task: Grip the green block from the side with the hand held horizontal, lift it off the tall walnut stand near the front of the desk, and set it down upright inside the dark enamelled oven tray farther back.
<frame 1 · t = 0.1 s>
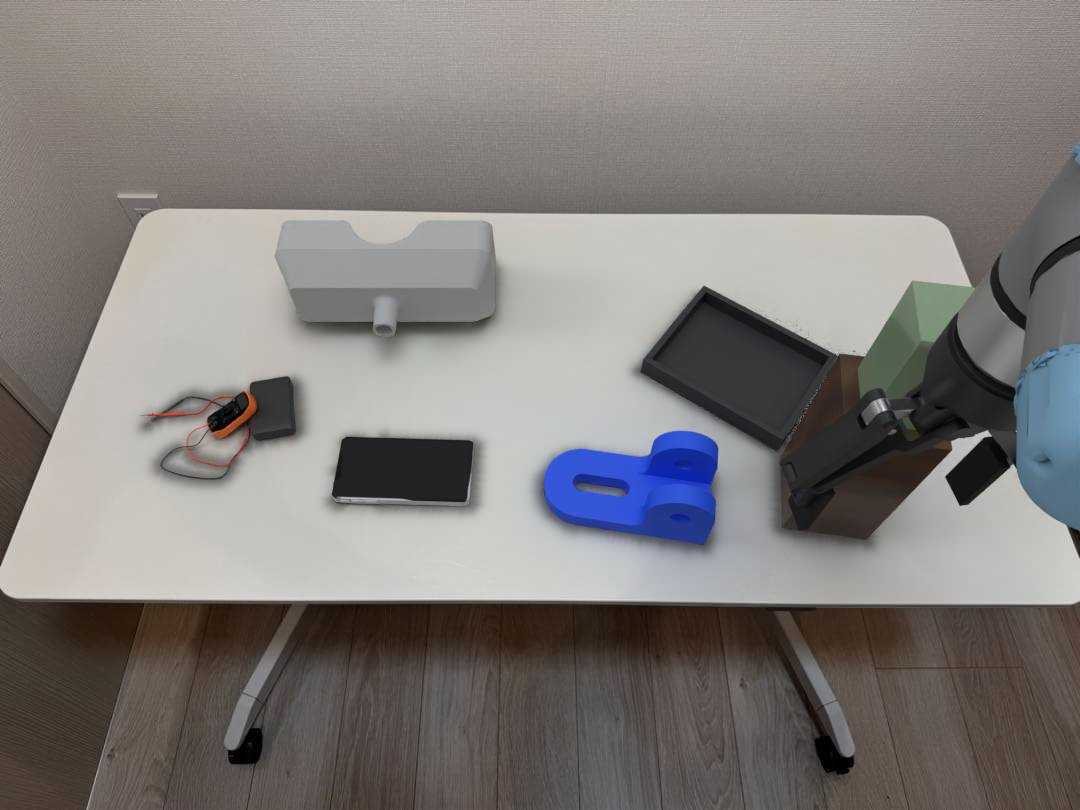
hand: (877, 502, 62), 21 cm above the table, tool pointing down, fingers open, 13 cm apart
green block: (893, 399, 68), point 20 cm above the table, touching stand
stand: (822, 496, 85), on the table
multimeter: (218, 434, 89), on the table
oven tray: (736, 369, 94), on the table
smartphone: (405, 474, 86), on the table
tank: (398, 311, 99), on the table
bracket: (624, 497, 85), on the table
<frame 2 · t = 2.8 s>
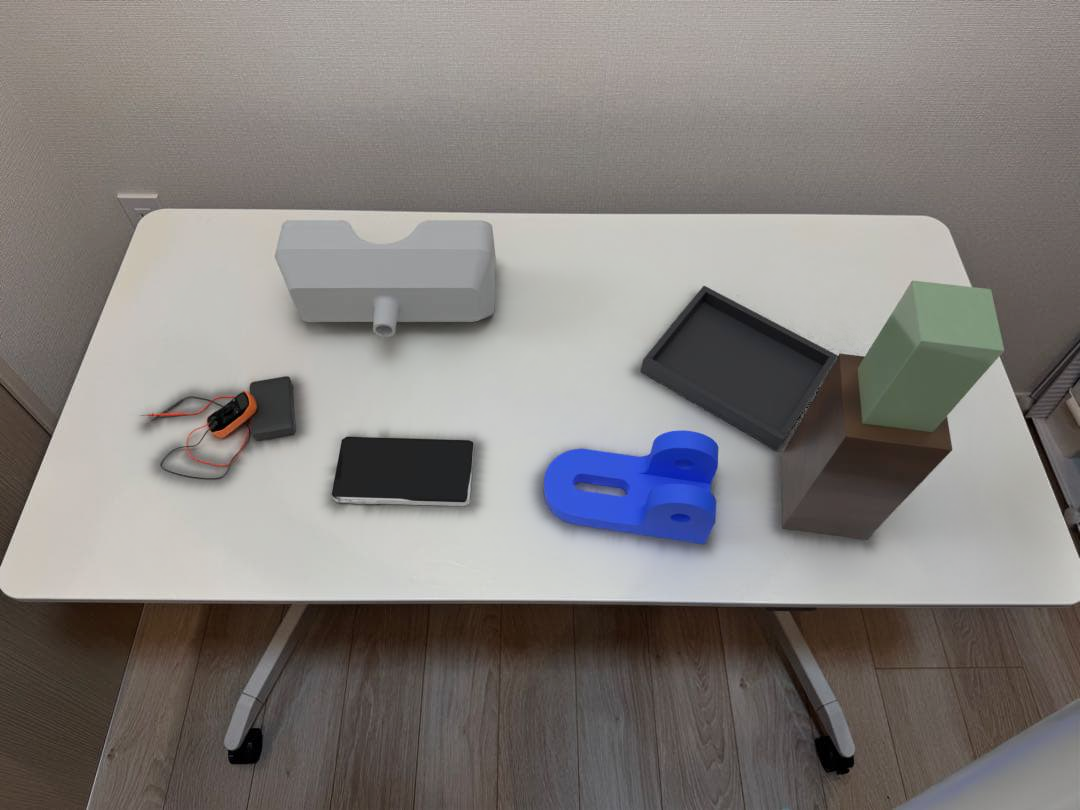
nothing on the table moved.
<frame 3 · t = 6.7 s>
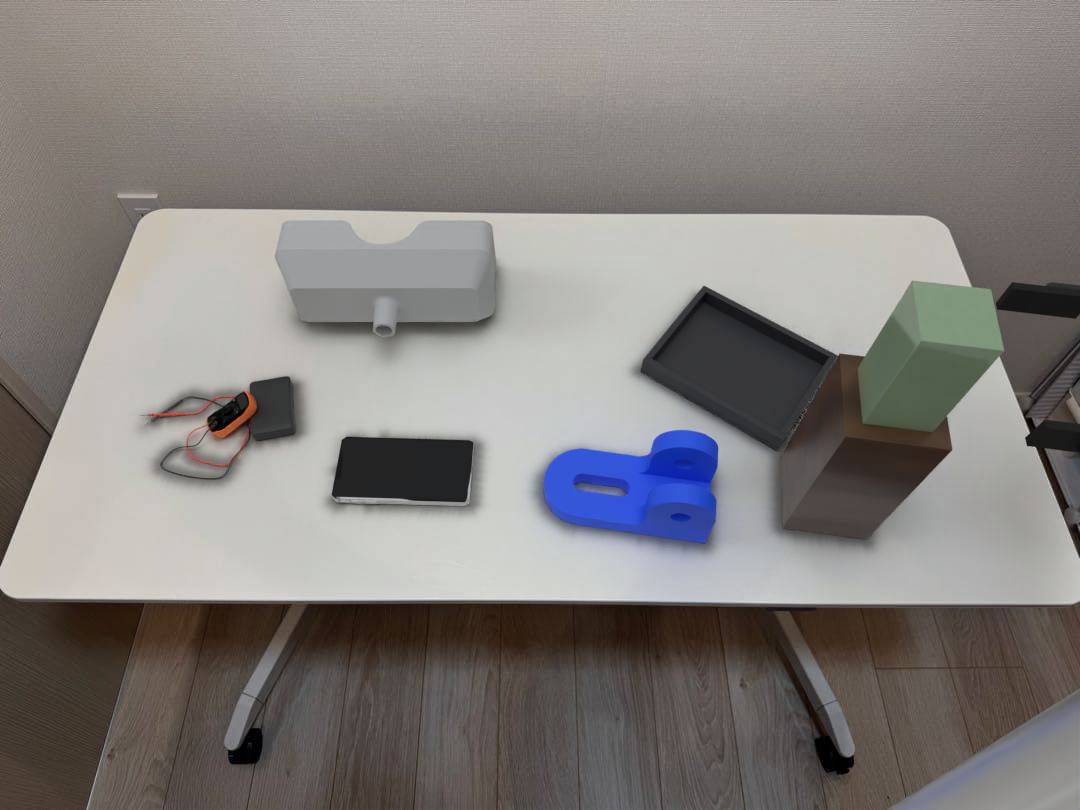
hand: (1018, 360, 61), 27 cm above the table, tool horizontal, fingers open, 13 cm apart
nothing on the table moved.
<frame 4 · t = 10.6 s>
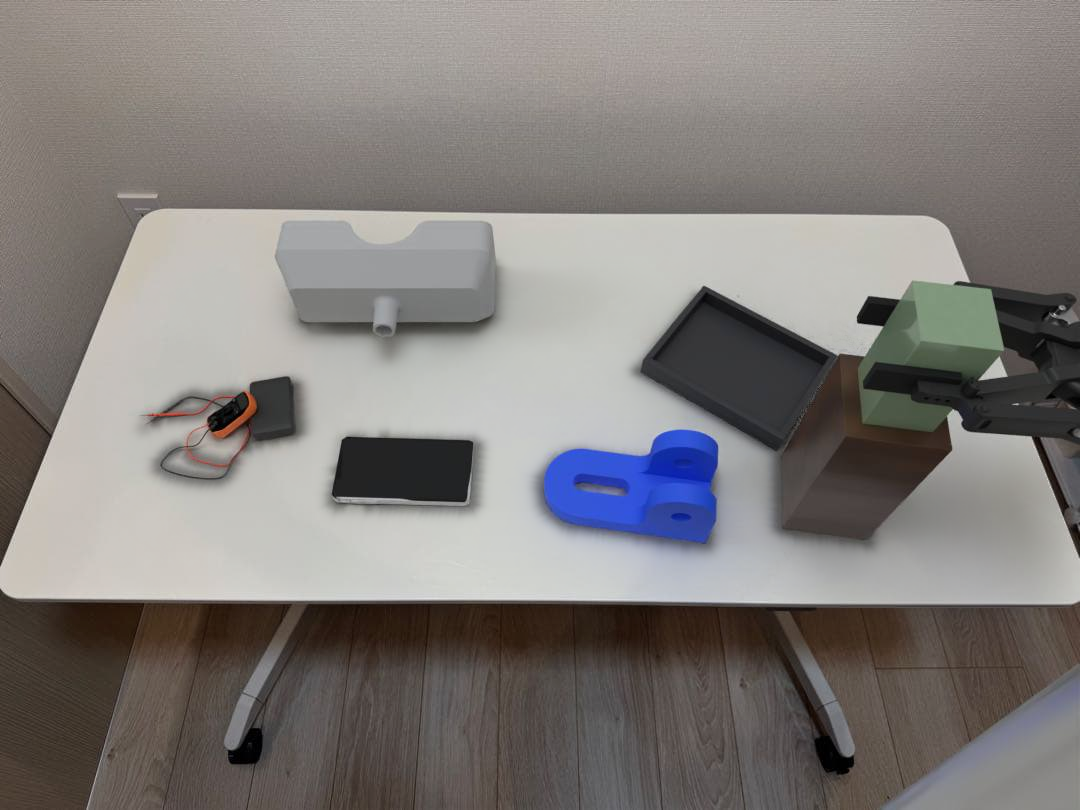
hand: (866, 341, 62), 28 cm above the table, tool horizontal, fingers closed on green block, 6 cm apart
green block: (893, 399, 68), point 20 cm above the table, touching gripper, stand
everything else where it was.
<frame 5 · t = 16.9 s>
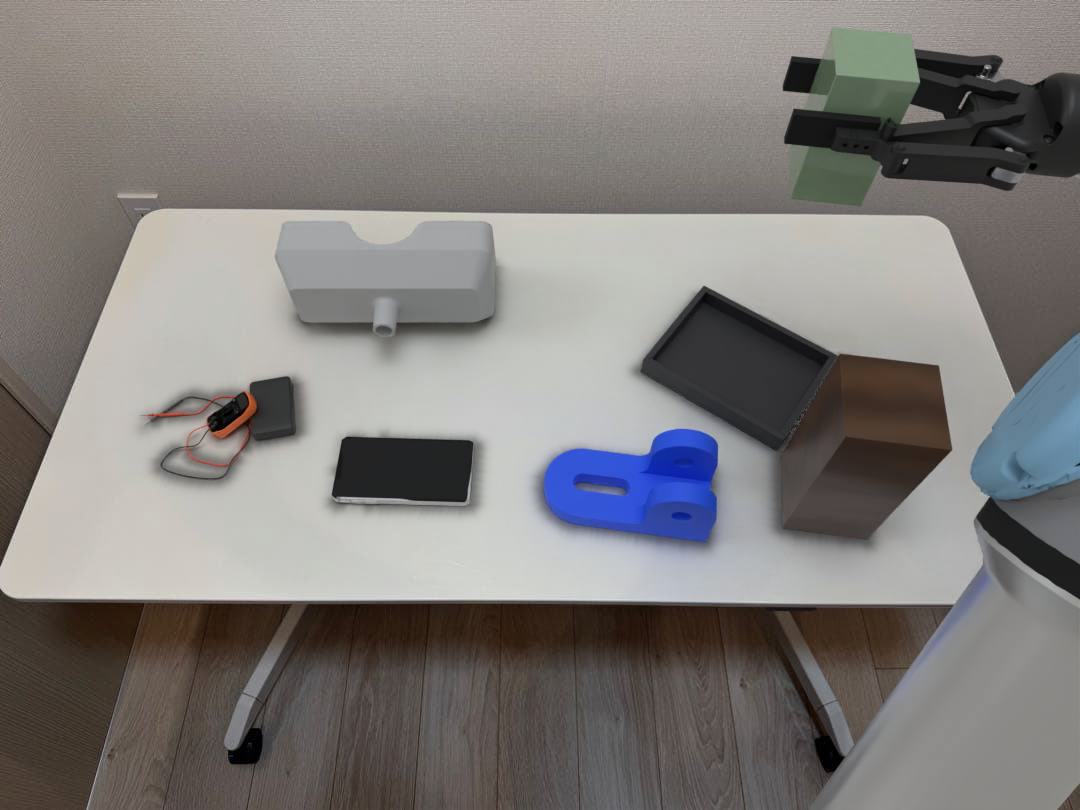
hand: (788, 99, 61), 38 cm above the table, tool horizontal, fingers closed on green block, 6 cm apart
green block: (823, 179, 67), point 31 cm above the table, touching gripper
everything else where it was.
when the fingers open (8 cm above the table, at t = 23.6 s): green block stays where it is, resting on oven tray.
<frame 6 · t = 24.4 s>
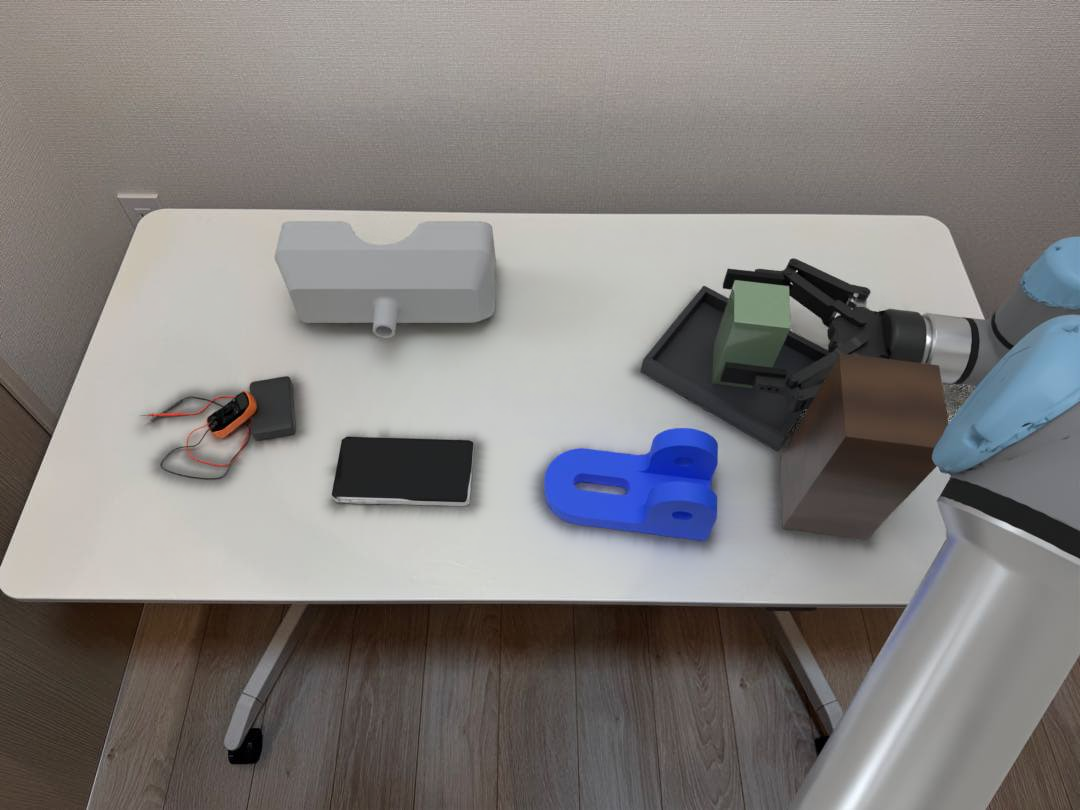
hand: (723, 323, 87), 9 cm above the table, tool horizontal, fingers open, 13 cm apart
green block: (737, 366, 94), point 1 cm above the table, touching oven tray
everything else where it was.
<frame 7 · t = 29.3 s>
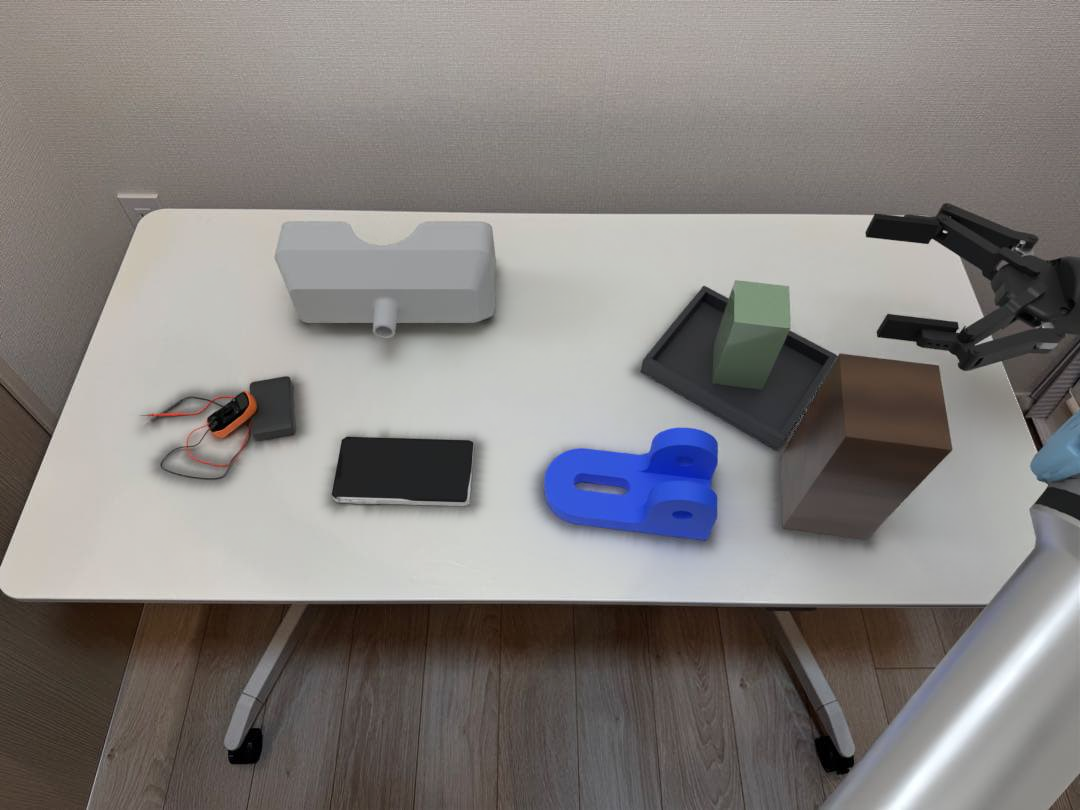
hand: (875, 273, 77), 19 cm above the table, tool horizontal, fingers open, 13 cm apart
nothing on the table moved.
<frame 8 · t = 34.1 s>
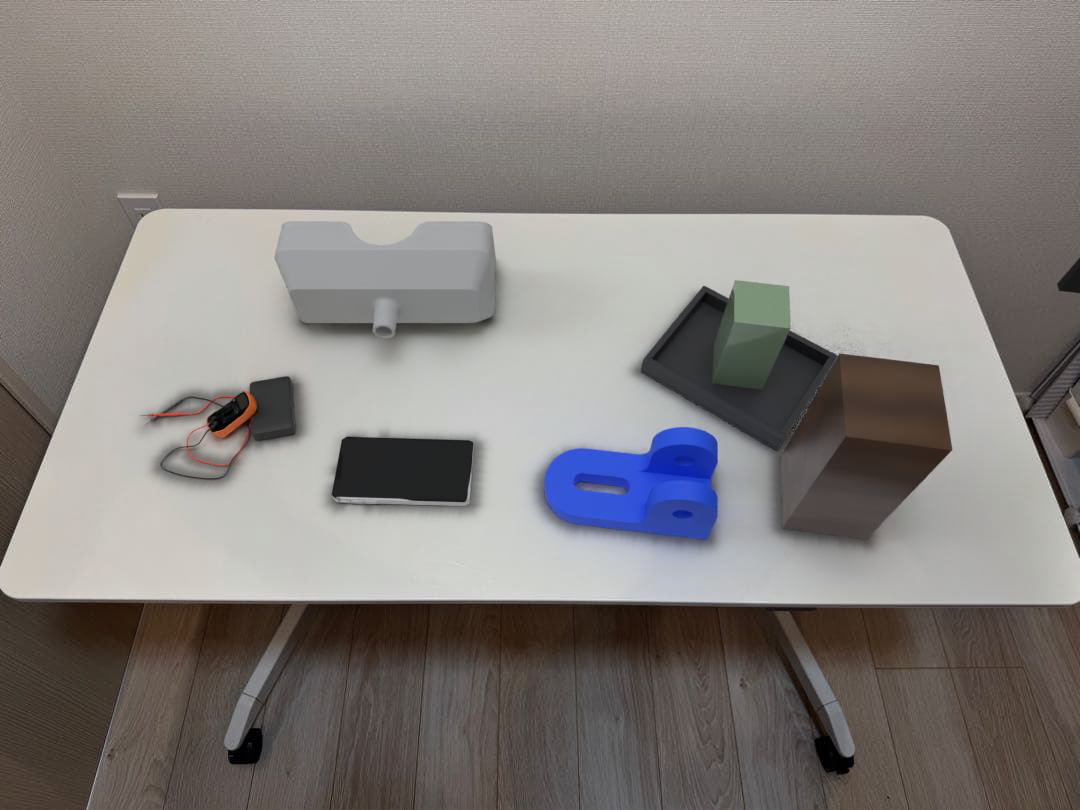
nothing on the table moved.
at the end: green block inside the target area in the oven tray (0.0 cm from its centre), point 0.6 cm above the oven tray's base; green block tilted 0°; the gripper is holding nothing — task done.
